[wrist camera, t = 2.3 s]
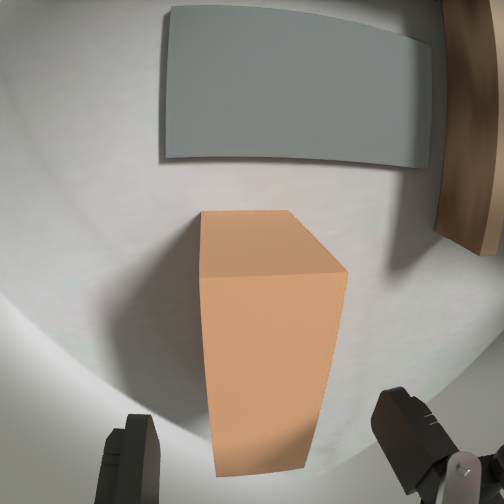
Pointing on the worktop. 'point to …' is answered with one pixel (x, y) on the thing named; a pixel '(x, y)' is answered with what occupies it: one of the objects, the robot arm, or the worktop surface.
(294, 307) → the terracotta block
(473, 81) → the walnut corner
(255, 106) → the slate pad
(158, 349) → the worktop surface
